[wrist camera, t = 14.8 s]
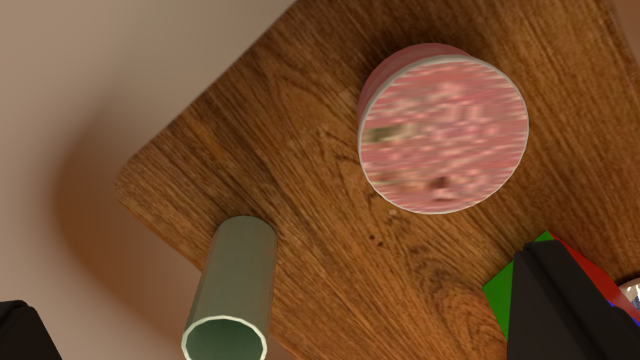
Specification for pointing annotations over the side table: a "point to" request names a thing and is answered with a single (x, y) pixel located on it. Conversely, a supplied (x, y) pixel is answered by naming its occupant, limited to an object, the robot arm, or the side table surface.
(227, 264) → the tube
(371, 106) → the container
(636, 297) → the toy car
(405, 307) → the side table surface
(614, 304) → the cube
